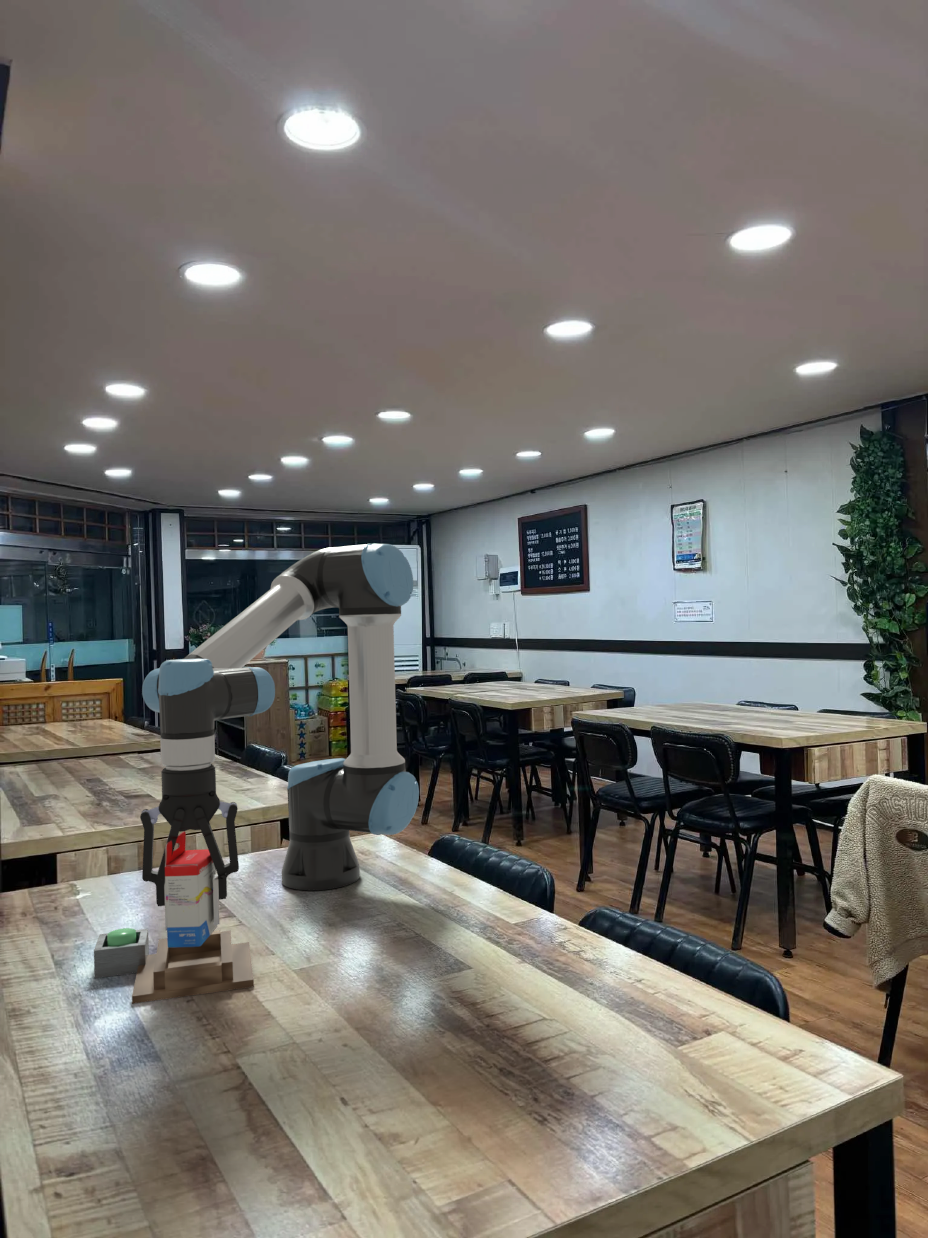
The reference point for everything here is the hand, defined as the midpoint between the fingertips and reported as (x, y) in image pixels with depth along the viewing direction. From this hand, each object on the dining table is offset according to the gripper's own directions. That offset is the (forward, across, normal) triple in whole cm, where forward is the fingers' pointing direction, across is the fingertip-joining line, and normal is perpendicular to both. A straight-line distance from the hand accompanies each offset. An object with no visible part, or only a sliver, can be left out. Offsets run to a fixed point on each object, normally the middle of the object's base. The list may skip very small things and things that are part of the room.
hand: (192, 924), depth 129 cm
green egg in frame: (+7, +10, -7) cm, 15 cm away
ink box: (+2, 0, 0) cm, 2 cm away
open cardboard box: (+7, 0, 0) cm, 7 cm away
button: (+5, +10, -7) cm, 14 cm away
